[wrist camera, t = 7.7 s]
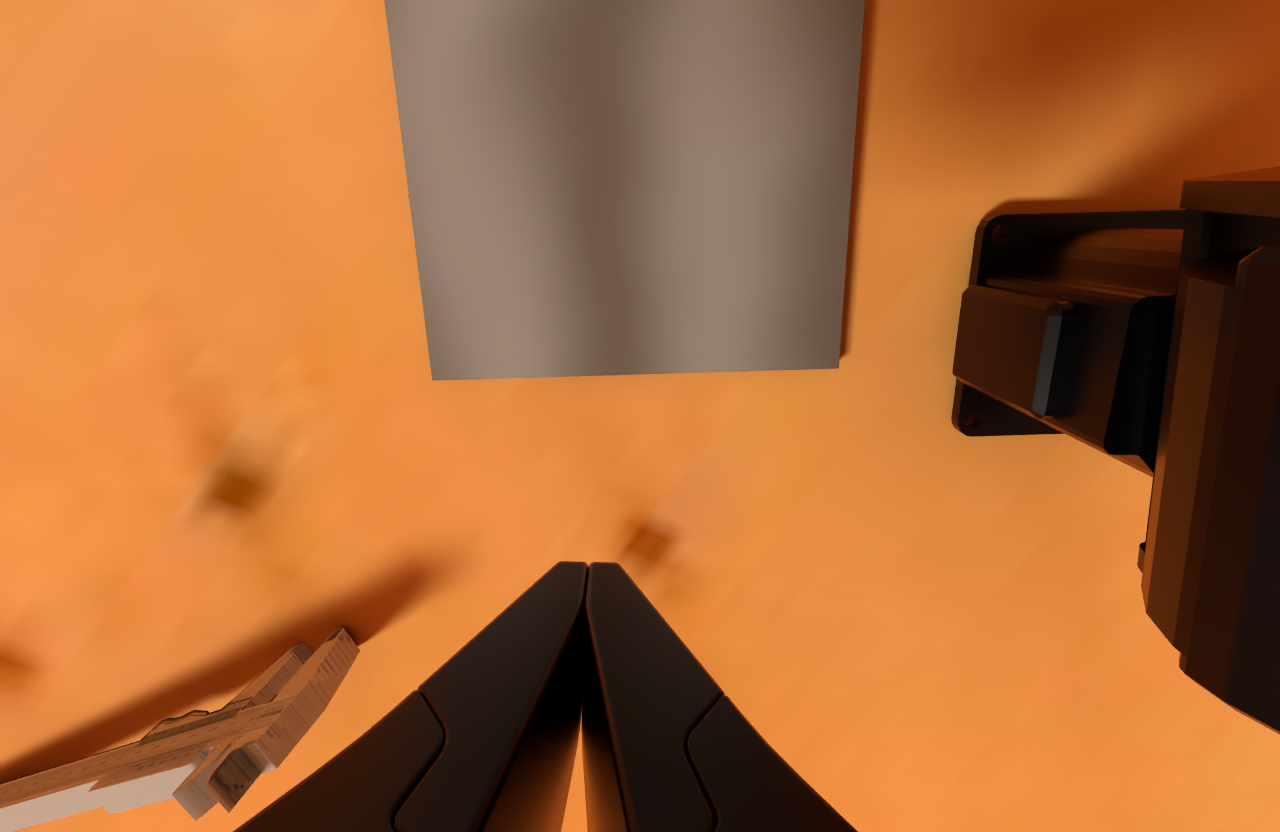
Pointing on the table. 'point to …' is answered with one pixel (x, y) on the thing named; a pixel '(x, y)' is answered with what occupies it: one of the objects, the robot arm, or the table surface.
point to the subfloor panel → (628, 182)
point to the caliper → (193, 747)
